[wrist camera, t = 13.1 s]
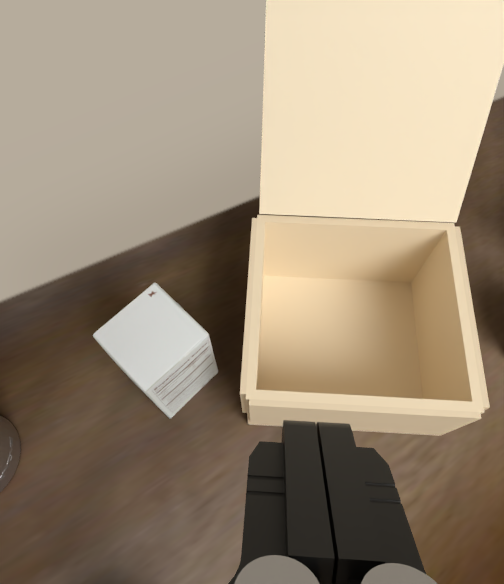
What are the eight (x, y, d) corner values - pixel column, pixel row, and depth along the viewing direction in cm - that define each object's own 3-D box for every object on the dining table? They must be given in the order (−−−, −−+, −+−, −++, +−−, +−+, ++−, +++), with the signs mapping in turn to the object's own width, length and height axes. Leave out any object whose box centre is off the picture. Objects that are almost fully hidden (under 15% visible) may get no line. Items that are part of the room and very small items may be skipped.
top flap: (266, -13, 34) (267, -13, 34) (259, 213, 44) (259, 210, 44) (524, -6, 33) (520, -6, 34) (456, 222, 43) (454, 219, 44)
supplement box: (126, 373, 50) (88, 332, 39) (177, 328, 52) (155, 278, 41) (169, 422, 48) (142, 394, 37) (221, 373, 50) (211, 332, 39)
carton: (242, 429, 48) (239, 404, 37) (253, 272, 56) (252, 214, 45) (437, 440, 47) (491, 419, 36) (419, 280, 55) (459, 223, 44)
